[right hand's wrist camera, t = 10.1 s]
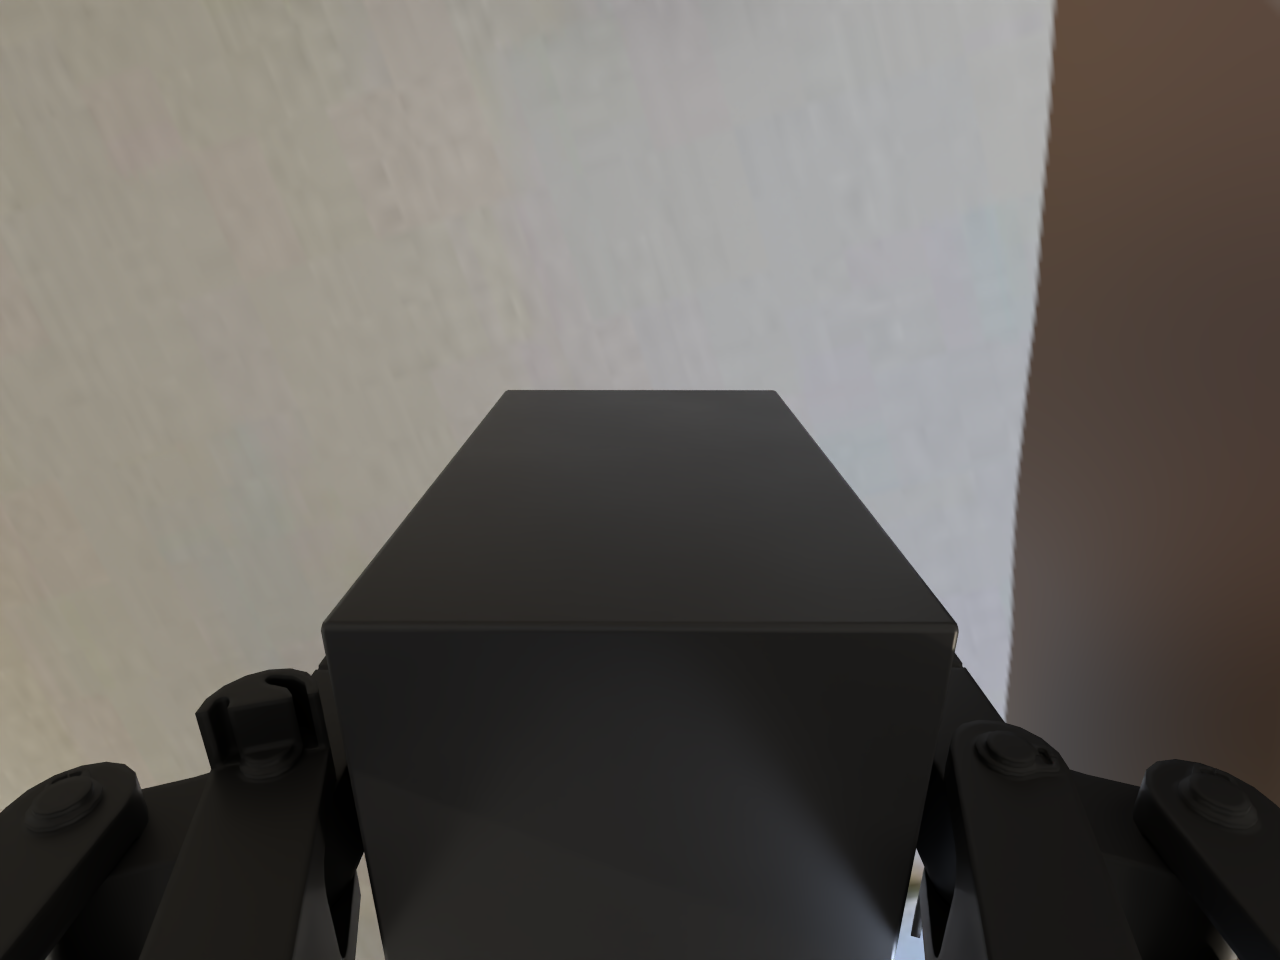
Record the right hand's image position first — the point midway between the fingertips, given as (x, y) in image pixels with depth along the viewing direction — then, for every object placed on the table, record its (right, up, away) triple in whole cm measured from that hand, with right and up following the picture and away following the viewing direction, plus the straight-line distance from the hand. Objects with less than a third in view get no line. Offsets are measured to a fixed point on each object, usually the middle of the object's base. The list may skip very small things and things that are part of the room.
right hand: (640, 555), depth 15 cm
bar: (0, -8, +4) cm, 8 cm away
